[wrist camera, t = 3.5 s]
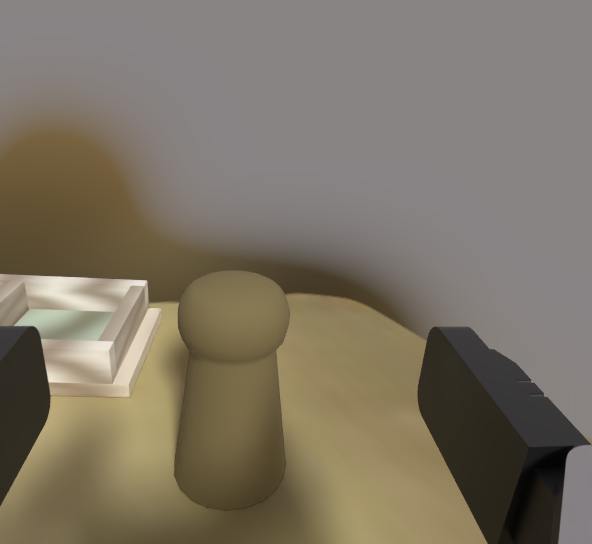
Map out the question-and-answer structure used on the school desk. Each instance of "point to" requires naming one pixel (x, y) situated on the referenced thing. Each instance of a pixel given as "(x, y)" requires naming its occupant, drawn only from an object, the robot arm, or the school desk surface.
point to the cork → (231, 390)
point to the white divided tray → (84, 329)
